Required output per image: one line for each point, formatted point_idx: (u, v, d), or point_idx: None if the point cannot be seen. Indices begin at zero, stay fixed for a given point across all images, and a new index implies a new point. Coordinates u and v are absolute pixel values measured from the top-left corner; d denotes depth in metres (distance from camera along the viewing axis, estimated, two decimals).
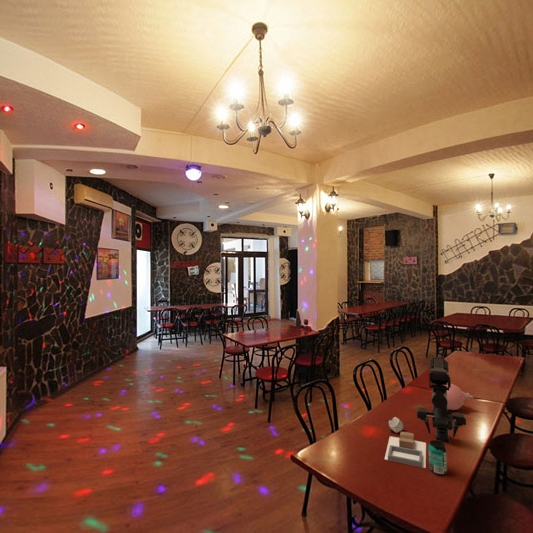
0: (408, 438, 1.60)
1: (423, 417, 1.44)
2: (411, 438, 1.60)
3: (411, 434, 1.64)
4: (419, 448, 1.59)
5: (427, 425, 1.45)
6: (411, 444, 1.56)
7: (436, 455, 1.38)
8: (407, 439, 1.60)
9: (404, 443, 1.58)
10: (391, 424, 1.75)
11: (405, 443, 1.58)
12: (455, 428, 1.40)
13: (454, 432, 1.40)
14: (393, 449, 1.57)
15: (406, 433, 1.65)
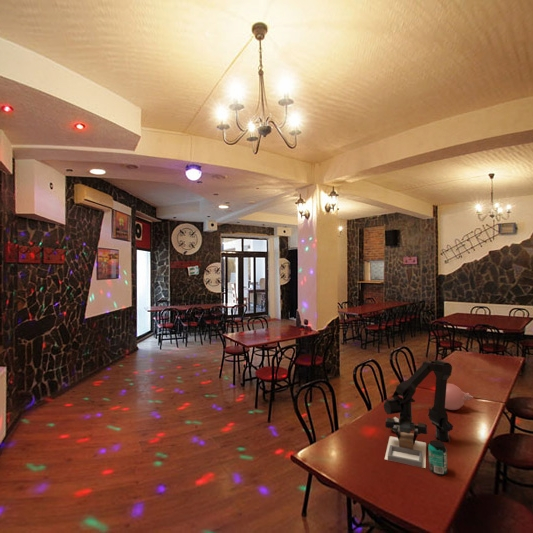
0: (408, 438, 1.60)
1: (390, 426, 1.62)
2: (411, 438, 1.60)
3: (411, 434, 1.64)
4: (419, 448, 1.59)
5: (397, 434, 1.63)
6: (411, 444, 1.56)
7: (436, 455, 1.38)
8: (407, 439, 1.60)
9: (404, 443, 1.58)
10: None
11: (405, 443, 1.58)
12: (414, 436, 1.59)
13: (414, 439, 1.60)
14: (393, 449, 1.57)
15: (406, 433, 1.65)
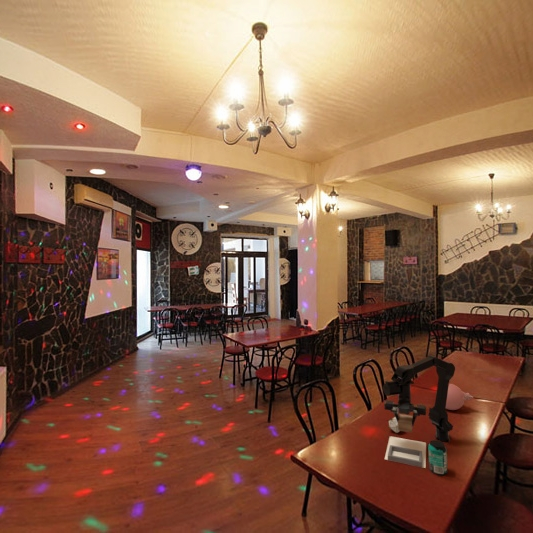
0: (407, 420, 1.60)
1: (389, 408, 1.63)
2: (410, 420, 1.61)
3: (410, 416, 1.64)
4: (419, 448, 1.59)
5: (396, 416, 1.63)
6: (410, 425, 1.57)
7: (436, 455, 1.38)
8: (406, 420, 1.60)
9: (403, 424, 1.58)
10: (391, 424, 1.75)
11: (404, 425, 1.58)
12: (414, 417, 1.59)
13: (413, 421, 1.60)
14: (393, 449, 1.57)
15: (405, 415, 1.66)
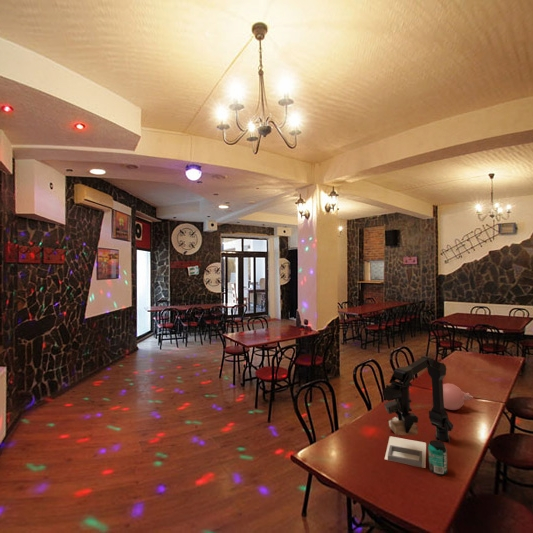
0: (402, 424, 1.54)
1: None
2: None
3: (413, 425, 1.53)
4: (419, 448, 1.59)
5: (398, 417, 1.59)
6: (395, 427, 1.52)
7: (436, 455, 1.38)
8: (400, 423, 1.54)
9: (392, 424, 1.56)
10: None
11: (393, 425, 1.55)
12: (404, 423, 1.51)
13: None
14: (393, 449, 1.57)
15: None
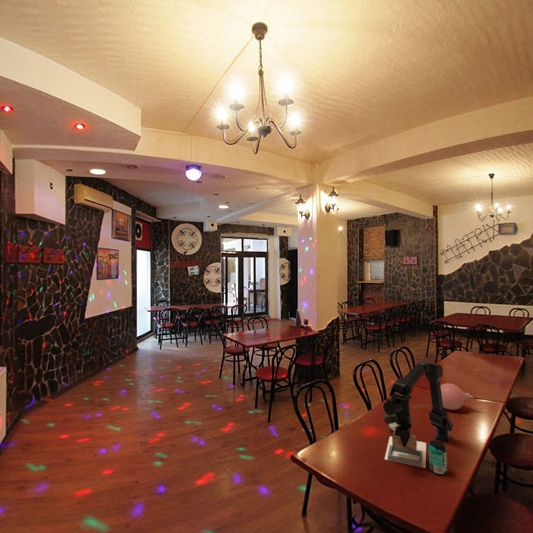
0: None
1: None
2: None
3: (412, 440, 1.48)
4: (419, 448, 1.59)
5: None
6: (392, 439, 1.51)
7: (436, 455, 1.38)
8: (399, 436, 1.52)
9: (393, 436, 1.54)
10: (391, 424, 1.75)
11: None
12: None
13: (401, 440, 1.49)
14: (393, 449, 1.57)
15: (413, 438, 1.50)
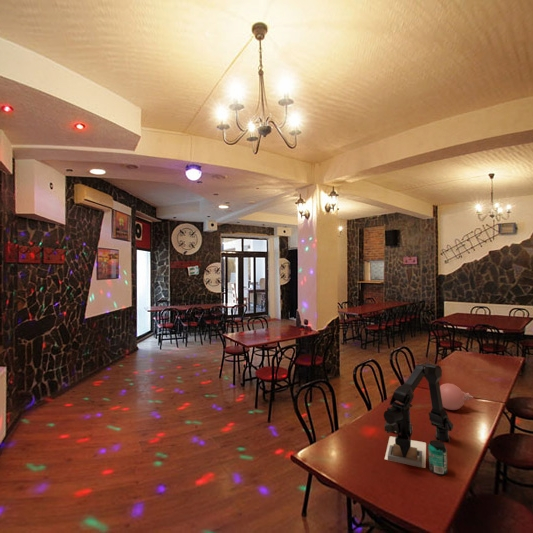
0: None
1: None
2: None
3: (412, 452, 1.48)
4: (419, 448, 1.59)
5: None
6: None
7: (436, 455, 1.38)
8: (399, 448, 1.52)
9: (393, 447, 1.54)
10: None
11: (393, 448, 1.54)
12: None
13: None
14: None
15: (413, 450, 1.50)
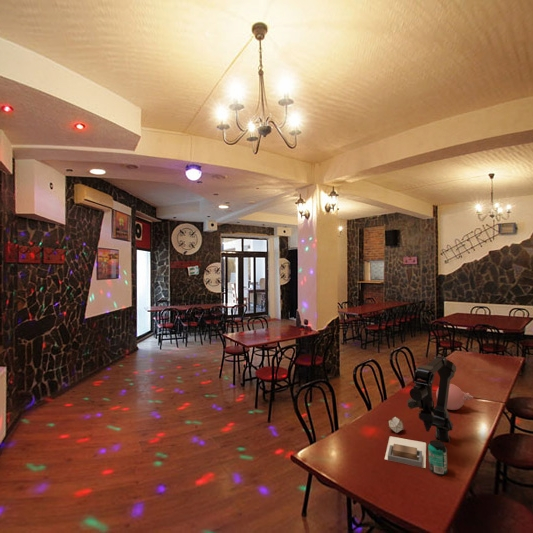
0: (401, 449, 1.51)
1: None
2: (402, 451, 1.50)
3: (412, 452, 1.48)
4: (419, 448, 1.59)
5: None
6: None
7: (436, 455, 1.38)
8: (399, 448, 1.52)
9: (393, 447, 1.54)
10: (391, 424, 1.75)
11: (393, 448, 1.54)
12: (423, 421, 1.53)
13: None
14: None
15: (413, 450, 1.50)
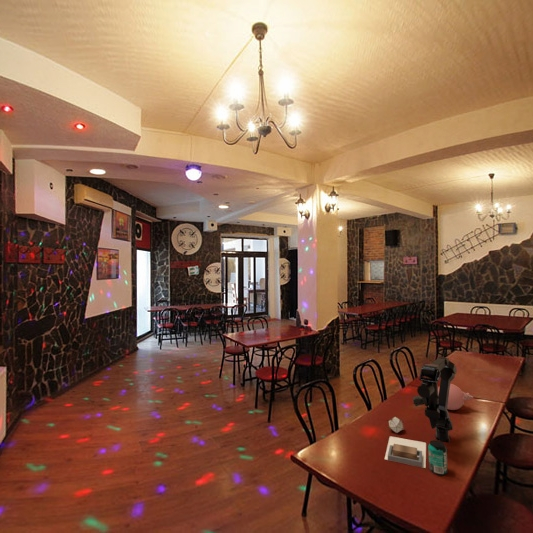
0: (401, 449, 1.51)
1: None
2: (402, 451, 1.50)
3: (412, 452, 1.48)
4: (419, 448, 1.59)
5: None
6: None
7: (436, 455, 1.38)
8: (399, 448, 1.52)
9: (393, 447, 1.54)
10: (391, 424, 1.75)
11: (393, 448, 1.54)
12: (429, 418, 1.54)
13: (430, 422, 1.55)
14: None
15: (413, 450, 1.50)
